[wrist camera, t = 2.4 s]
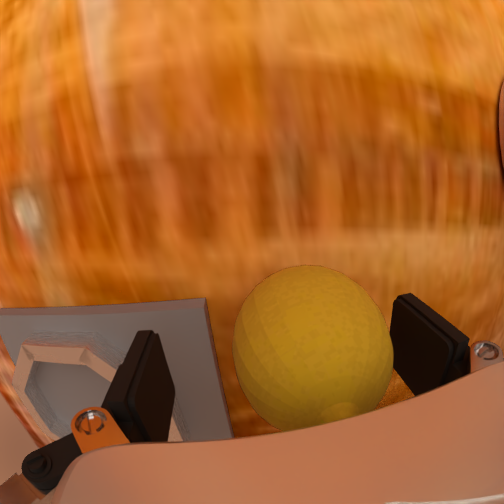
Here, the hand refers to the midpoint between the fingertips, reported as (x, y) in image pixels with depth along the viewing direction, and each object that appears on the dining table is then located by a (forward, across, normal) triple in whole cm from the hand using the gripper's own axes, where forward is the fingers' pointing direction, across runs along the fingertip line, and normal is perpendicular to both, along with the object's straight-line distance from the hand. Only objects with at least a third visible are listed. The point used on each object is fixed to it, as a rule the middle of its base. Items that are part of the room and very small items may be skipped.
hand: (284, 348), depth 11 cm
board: (+4, +10, +6) cm, 12 cm away
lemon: (+4, -1, 0) cm, 4 cm away
